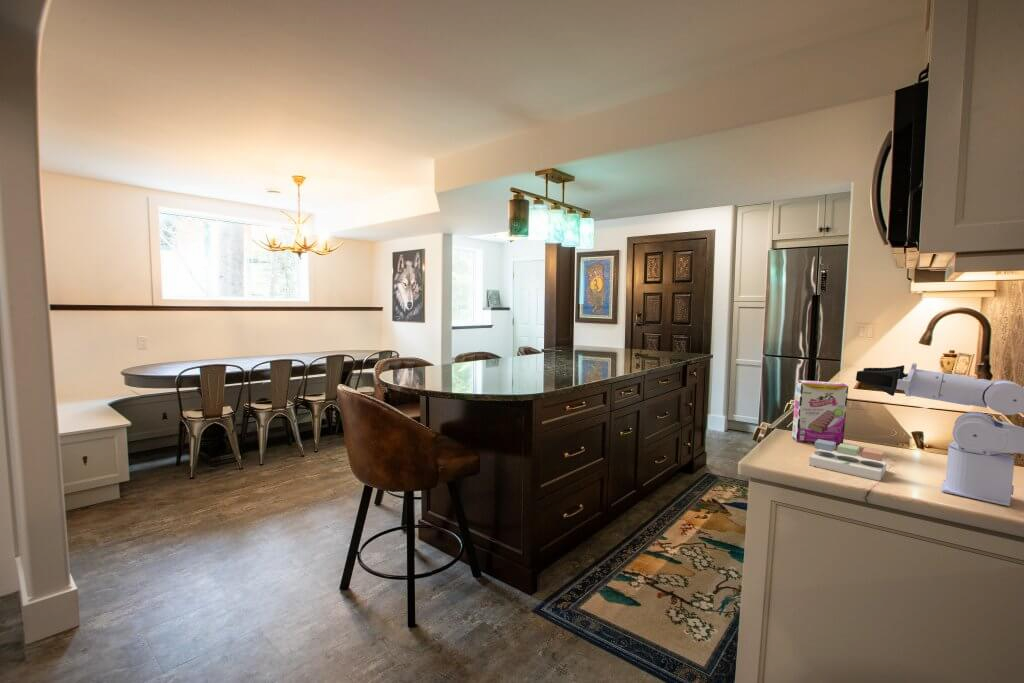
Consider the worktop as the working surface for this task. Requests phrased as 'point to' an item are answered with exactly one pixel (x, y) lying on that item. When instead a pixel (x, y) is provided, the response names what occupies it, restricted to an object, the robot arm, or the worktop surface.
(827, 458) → the console
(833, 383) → the candy bar box
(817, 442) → the slate button
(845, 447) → the sage button
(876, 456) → the terracotta button
